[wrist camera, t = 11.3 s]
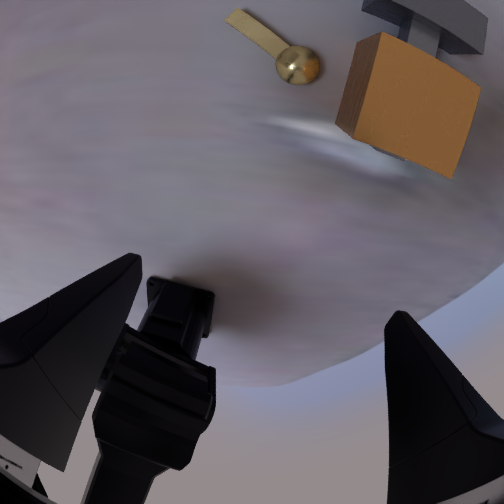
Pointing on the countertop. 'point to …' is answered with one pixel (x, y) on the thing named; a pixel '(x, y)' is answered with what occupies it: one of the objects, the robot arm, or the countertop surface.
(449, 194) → the countertop surface
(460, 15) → the hammer
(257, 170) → the countertop surface
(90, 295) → the robot arm
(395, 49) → the wooden u-channel block
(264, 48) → the brass measuring spoon
